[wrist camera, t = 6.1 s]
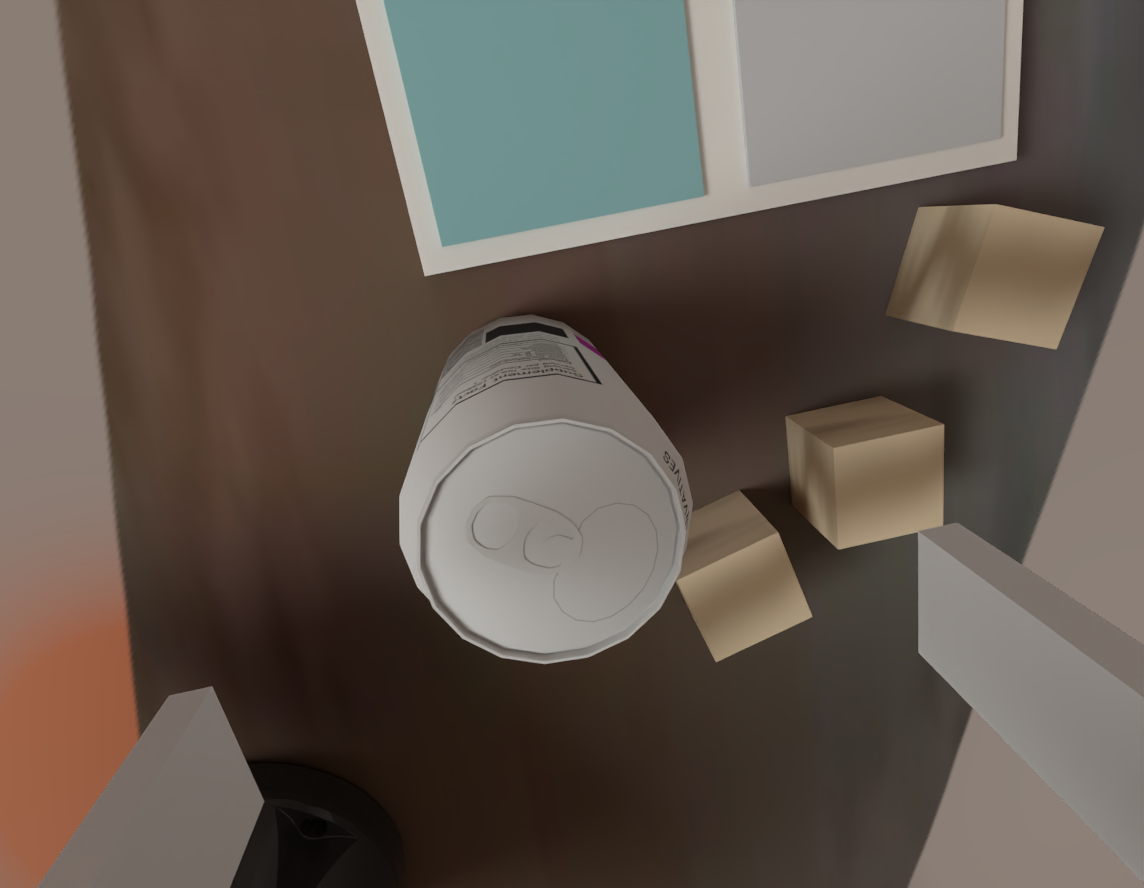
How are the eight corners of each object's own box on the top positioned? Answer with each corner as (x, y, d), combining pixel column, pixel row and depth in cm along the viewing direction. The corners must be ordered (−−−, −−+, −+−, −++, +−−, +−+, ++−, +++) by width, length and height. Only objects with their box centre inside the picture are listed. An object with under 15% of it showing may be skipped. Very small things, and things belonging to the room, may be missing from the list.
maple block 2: (882, 485, 35) (943, 526, 30) (791, 505, 35) (838, 549, 30) (880, 395, 33) (944, 424, 28) (784, 415, 33) (833, 448, 28)
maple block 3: (974, 331, 33) (1056, 349, 28) (883, 315, 32) (952, 331, 27) (1011, 226, 31) (1104, 227, 26) (917, 207, 30) (996, 204, 26)
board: (991, 163, 30) (1021, 159, 28) (428, 273, 29) (424, 276, 27) (1005, -259, 25) (1042, -294, 23) (323, -148, 24) (310, -177, 22)
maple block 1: (769, 564, 36) (812, 616, 31) (686, 604, 36) (715, 662, 31) (738, 489, 34) (778, 532, 29) (651, 531, 34) (676, 580, 29)
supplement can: (639, 354, 31) (763, 465, 17) (567, 504, 33) (624, 715, 19) (477, 282, 29) (464, 339, 15) (412, 446, 31) (345, 632, 17)
